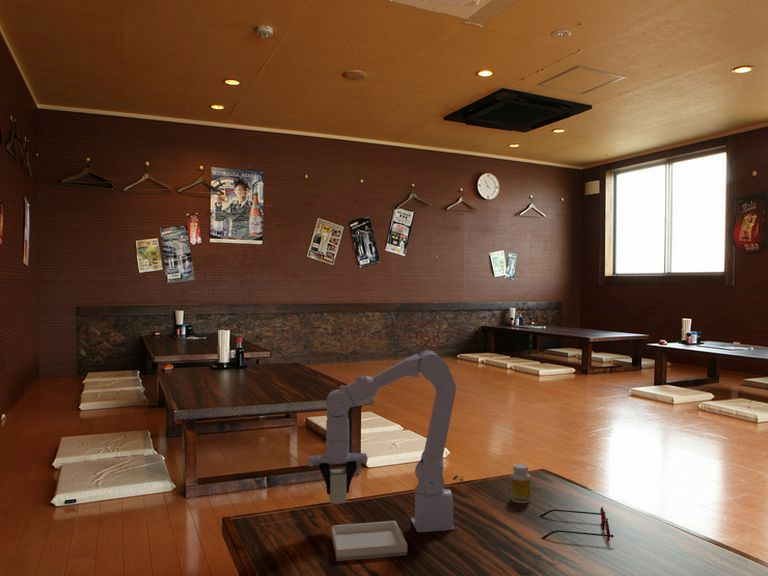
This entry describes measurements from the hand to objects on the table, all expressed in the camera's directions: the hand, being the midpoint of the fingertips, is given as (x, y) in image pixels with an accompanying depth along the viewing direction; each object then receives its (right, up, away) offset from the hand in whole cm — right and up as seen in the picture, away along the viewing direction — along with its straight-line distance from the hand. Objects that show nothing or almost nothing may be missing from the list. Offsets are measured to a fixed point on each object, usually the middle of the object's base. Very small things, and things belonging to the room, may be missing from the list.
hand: (337, 492), depth 146 cm
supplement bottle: (+50, -9, +19) cm, 55 cm away
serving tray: (+8, -9, -10) cm, 15 cm away
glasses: (+59, -10, -1) cm, 60 cm away
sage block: (0, -2, 0) cm, 2 cm away
